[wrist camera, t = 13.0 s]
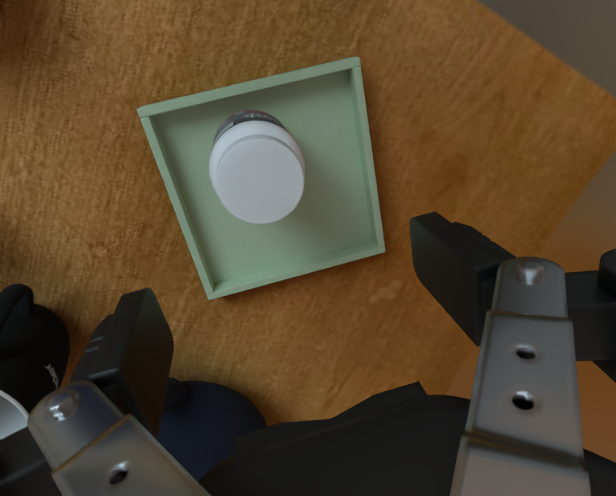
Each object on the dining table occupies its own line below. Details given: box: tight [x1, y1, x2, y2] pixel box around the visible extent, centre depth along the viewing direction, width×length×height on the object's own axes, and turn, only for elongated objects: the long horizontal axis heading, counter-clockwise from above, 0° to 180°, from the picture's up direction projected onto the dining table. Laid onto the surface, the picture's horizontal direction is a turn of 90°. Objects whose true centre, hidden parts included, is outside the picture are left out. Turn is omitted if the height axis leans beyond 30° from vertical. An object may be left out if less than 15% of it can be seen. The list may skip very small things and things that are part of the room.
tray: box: [137, 57, 386, 300], centre depth 31 cm, size 15×15×2 cm
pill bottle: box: [209, 110, 305, 225], centre depth 26 cm, size 6×6×10 cm
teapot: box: [157, 378, 268, 482], centre depth 35 cm, size 25×16×12 cm, turn 7°
